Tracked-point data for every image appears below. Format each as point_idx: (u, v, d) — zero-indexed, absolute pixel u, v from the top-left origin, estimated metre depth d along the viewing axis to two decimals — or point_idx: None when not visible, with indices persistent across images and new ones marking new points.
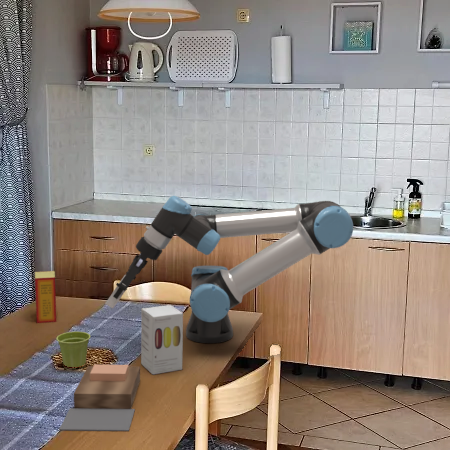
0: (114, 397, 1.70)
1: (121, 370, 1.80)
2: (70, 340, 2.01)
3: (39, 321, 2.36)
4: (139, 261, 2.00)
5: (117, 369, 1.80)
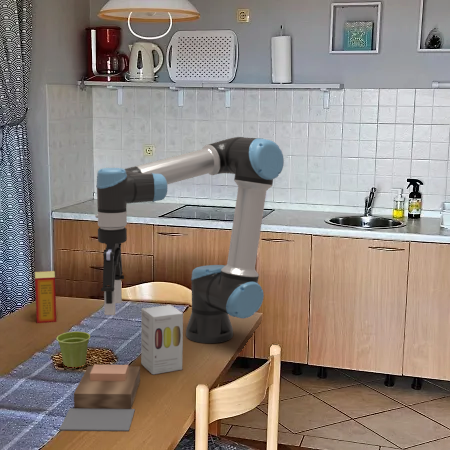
0: (114, 397, 1.70)
1: (121, 370, 1.80)
2: (70, 340, 2.01)
3: (39, 321, 2.36)
4: (107, 254, 1.77)
5: (117, 369, 1.80)
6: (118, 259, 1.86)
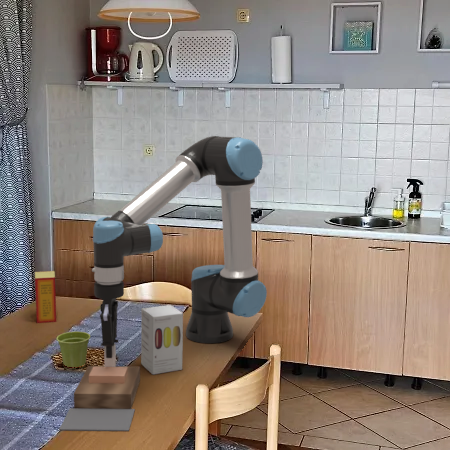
0: (114, 397, 1.70)
1: (121, 372, 1.78)
2: (70, 340, 2.01)
3: (39, 321, 2.36)
4: (104, 317, 1.74)
5: (116, 371, 1.79)
6: None
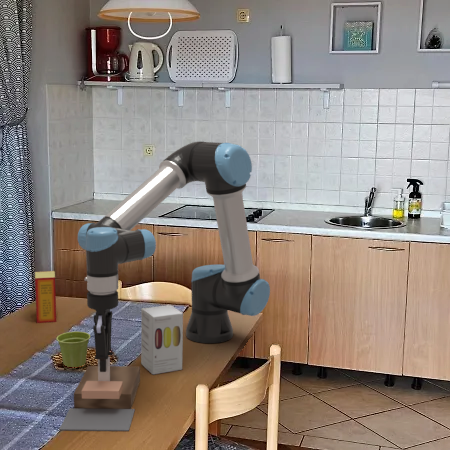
0: None
1: (115, 387, 1.69)
2: (70, 340, 2.01)
3: (39, 321, 2.36)
4: (97, 329, 1.65)
5: (110, 386, 1.70)
6: None
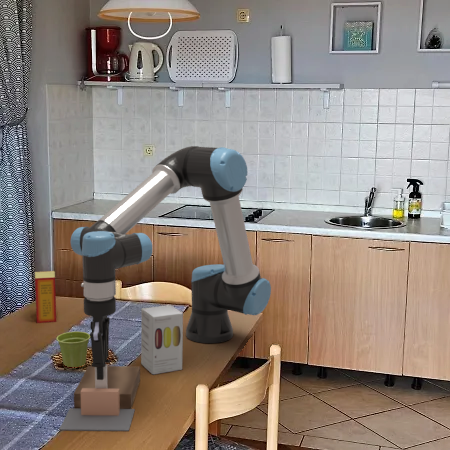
0: None
1: (113, 407, 1.67)
2: (70, 340, 2.01)
3: (39, 321, 2.36)
4: (94, 336, 1.60)
5: (108, 404, 1.66)
6: None
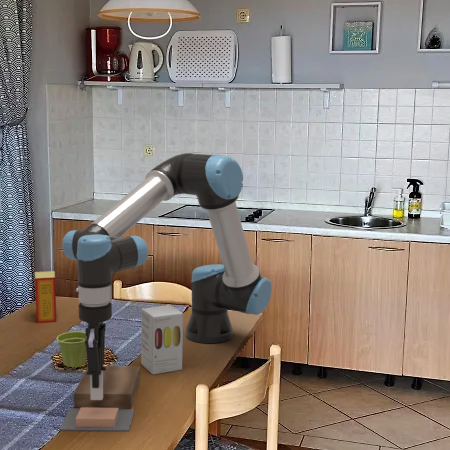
0: (114, 397, 1.70)
1: None
2: (70, 340, 2.01)
3: (39, 321, 2.36)
4: (89, 343, 1.55)
5: None
6: None
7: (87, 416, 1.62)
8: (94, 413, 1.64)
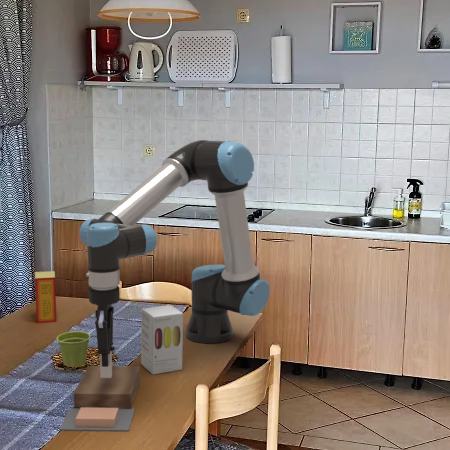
0: (114, 397, 1.70)
1: None
2: (70, 340, 2.01)
3: (39, 321, 2.36)
4: (99, 324, 1.66)
5: None
6: None
7: (87, 416, 1.62)
8: (94, 413, 1.64)
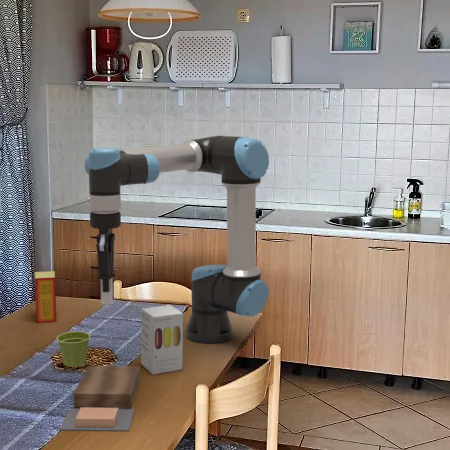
0: (114, 397, 1.70)
1: None
2: (70, 340, 2.01)
3: (39, 321, 2.36)
4: (100, 247, 1.67)
5: None
6: None
7: (87, 416, 1.62)
8: (94, 413, 1.64)
